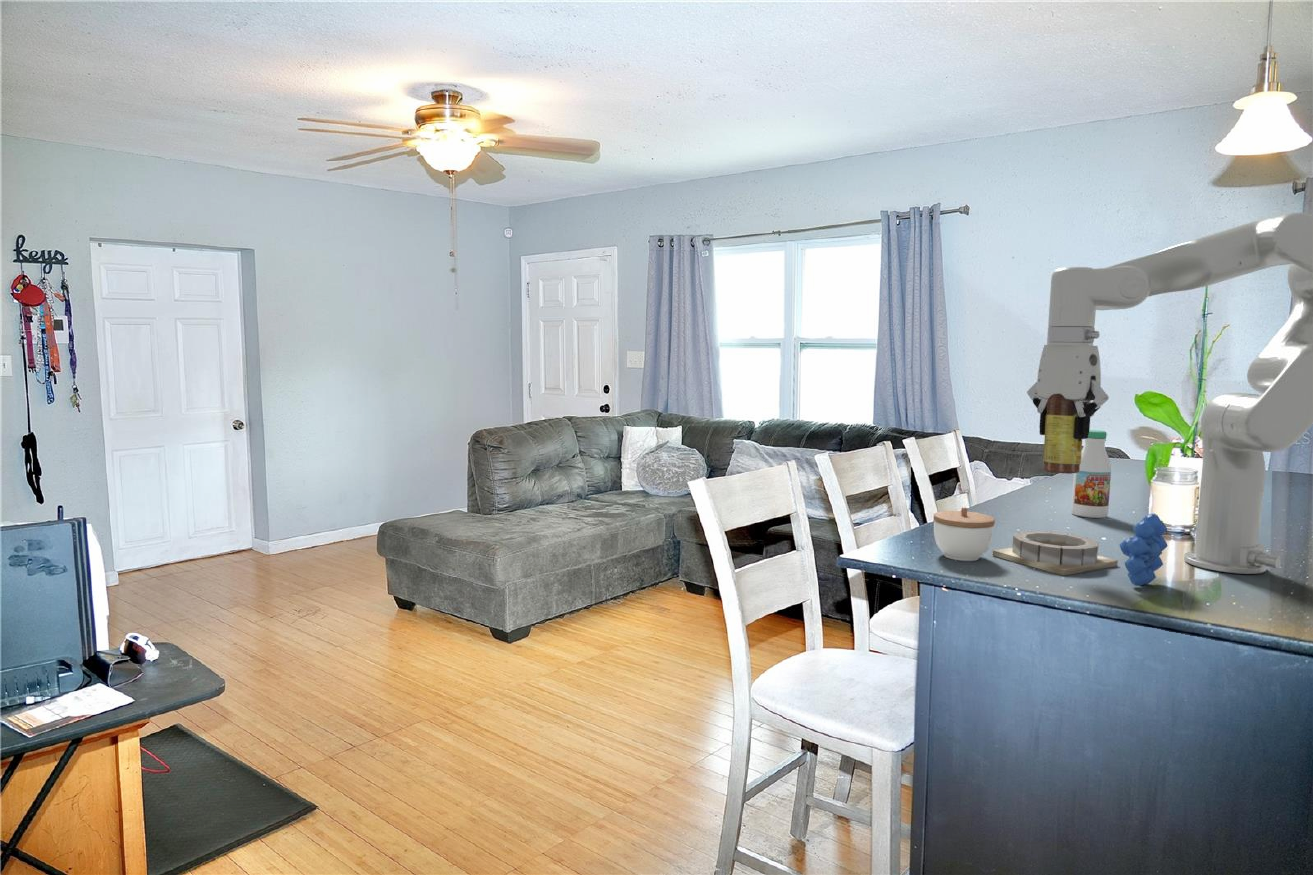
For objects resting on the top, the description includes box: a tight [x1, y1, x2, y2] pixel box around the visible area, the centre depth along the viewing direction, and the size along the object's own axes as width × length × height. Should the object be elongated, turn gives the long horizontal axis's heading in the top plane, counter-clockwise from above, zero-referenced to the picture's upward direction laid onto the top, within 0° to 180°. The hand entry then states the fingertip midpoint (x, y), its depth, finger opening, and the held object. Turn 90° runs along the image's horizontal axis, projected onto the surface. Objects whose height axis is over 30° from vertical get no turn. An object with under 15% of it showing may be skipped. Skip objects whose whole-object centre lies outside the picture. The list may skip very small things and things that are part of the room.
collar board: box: [992, 530, 1119, 577], centre depth 158 cm, size 15×15×4 cm
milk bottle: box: [1070, 429, 1112, 519], centre depth 199 cm, size 8×8×20 cm
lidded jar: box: [933, 506, 996, 562], centre depth 159 cm, size 11×11×9 cm
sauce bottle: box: [1043, 393, 1083, 475], centre depth 155 cm, size 6×6×20 cm
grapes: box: [1119, 513, 1168, 587], centre depth 143 cm, size 12×7×12 cm, turn 130°
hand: (1063, 435), depth 155 cm, fingers closed on sauce bottle, 6 cm apart
